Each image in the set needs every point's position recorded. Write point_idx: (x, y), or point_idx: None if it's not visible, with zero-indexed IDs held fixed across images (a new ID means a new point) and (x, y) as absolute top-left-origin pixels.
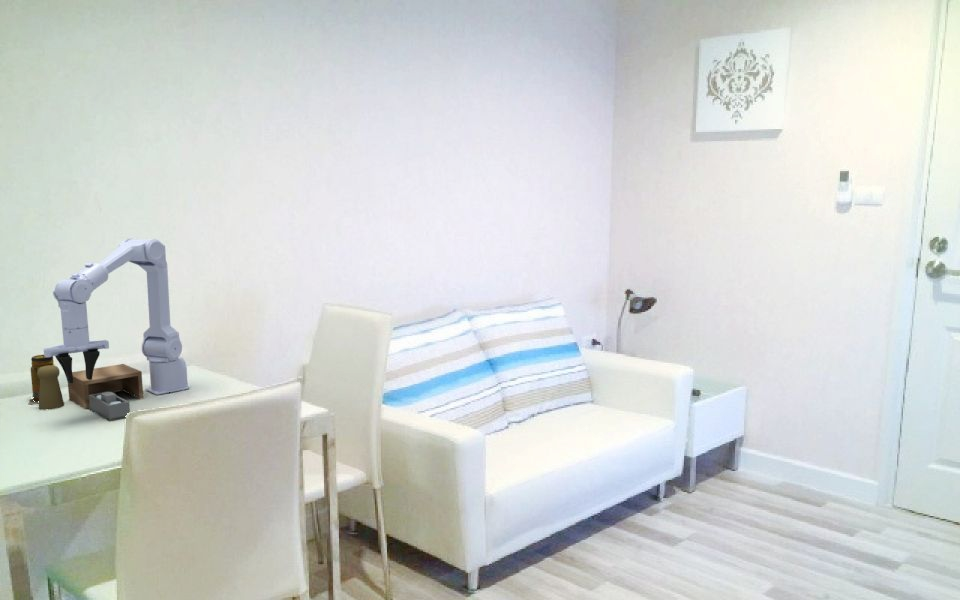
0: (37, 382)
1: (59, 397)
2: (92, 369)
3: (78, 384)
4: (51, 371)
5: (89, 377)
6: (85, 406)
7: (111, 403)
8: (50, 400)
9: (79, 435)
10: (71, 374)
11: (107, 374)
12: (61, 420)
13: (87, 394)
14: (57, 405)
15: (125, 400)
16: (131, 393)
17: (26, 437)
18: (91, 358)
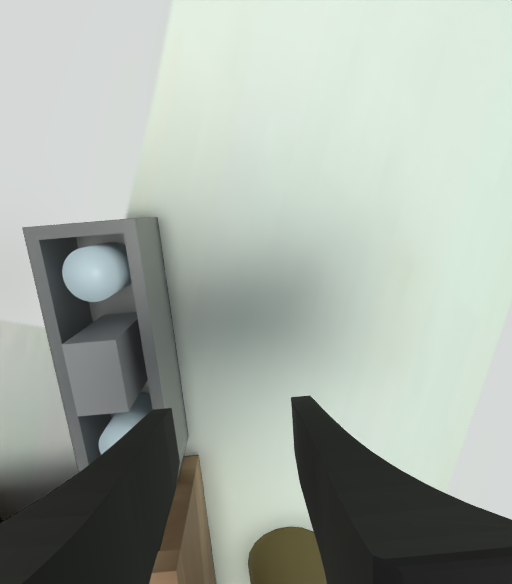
0: None
1: (269, 575)
2: (112, 452)
3: None
4: None
5: (165, 413)
6: (197, 464)
7: (111, 271)
8: (304, 563)
9: (314, 84)
10: (314, 426)
11: None
12: (310, 363)
13: (177, 504)
14: (278, 539)
15: (36, 269)
16: None
17: (478, 214)
18: (43, 547)
